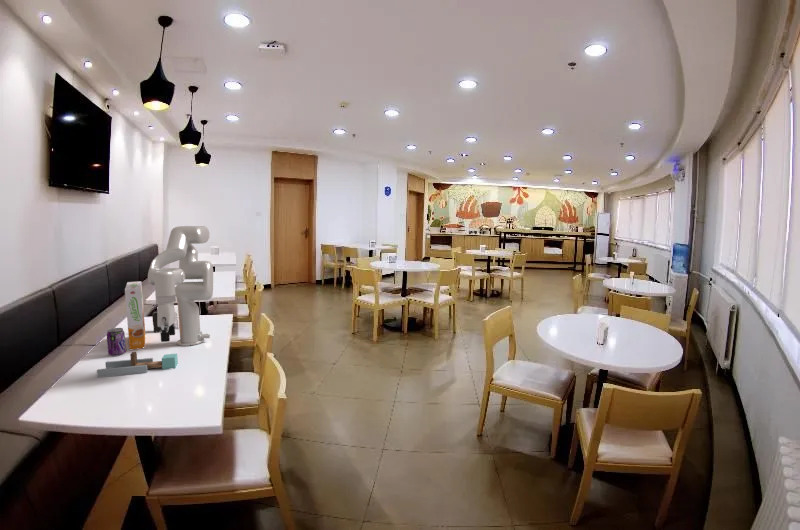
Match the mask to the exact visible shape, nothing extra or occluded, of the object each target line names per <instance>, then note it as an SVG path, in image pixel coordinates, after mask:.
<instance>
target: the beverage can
mask: <svg viewBox="0 0 800 530" xmlns="http://www.w3.org/2000/svg"><path fill="white" fill-rule="evenodd" d="M106 331H107V332H106V343H107V355H109V356H112V357H116V356H117V355H118V356H121V355H123V354H125V353H127V348H126V347H127V345H126V336H125V335H126V334H125V331H124V329H123V327H114V328H113V327H112V328H110V329H108V330H106ZM118 356H117V357H118Z"/></svg>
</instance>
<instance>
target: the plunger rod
mask: <svg viewBox="0 0 800 530" xmlns="http://www.w3.org/2000/svg"><path fill="white" fill-rule="evenodd" d="M137 354H138V352H137V351H131V353H130V354H129V355H130V360H131V366H142V365H147V370H148V369H158V368H162V360H159V361H157V360H156V361H153V362H144V363H137V359H138V355H137Z"/></svg>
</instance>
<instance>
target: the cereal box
mask: <svg viewBox="0 0 800 530" xmlns="http://www.w3.org/2000/svg"><path fill="white" fill-rule="evenodd" d="M124 298H125V306H126V319H127V331H128V333H127V334H128V344H129V345H128V346H129V350H130V349H133V350H138V349H137V348H140V349H144V348H143V347H146V337H145V335H146V324H145V323H146V322H145V313H144V312H145V311H144V297H143V285H142V281H139V280H138V281H127V283H126V285H125V288H124Z"/></svg>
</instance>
